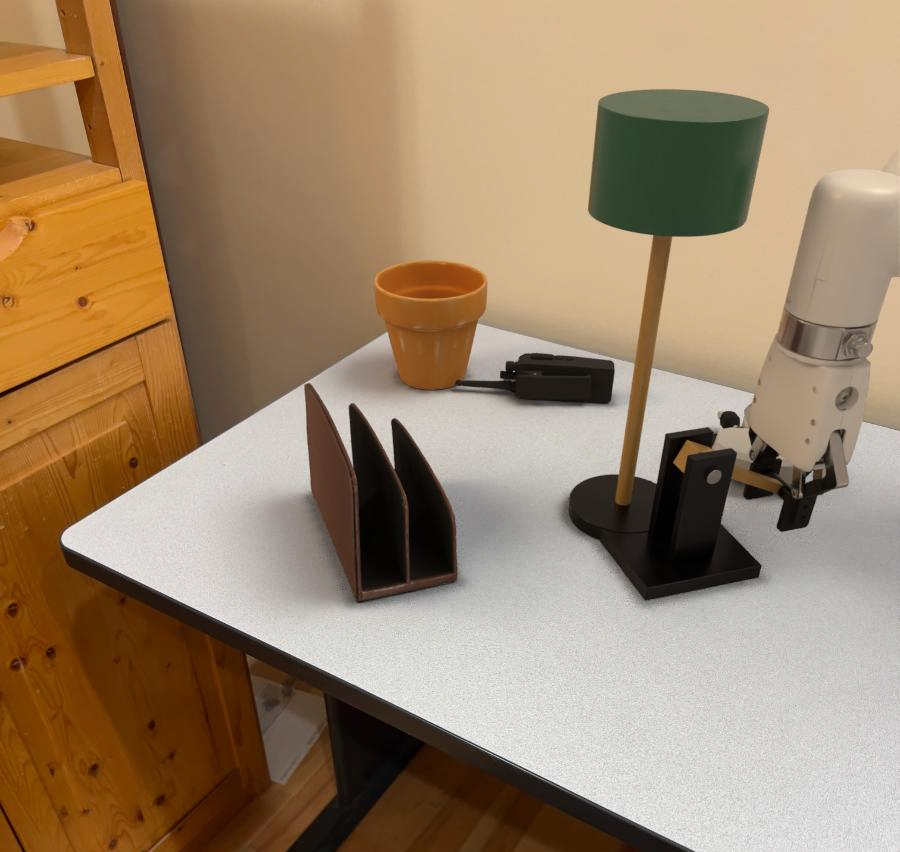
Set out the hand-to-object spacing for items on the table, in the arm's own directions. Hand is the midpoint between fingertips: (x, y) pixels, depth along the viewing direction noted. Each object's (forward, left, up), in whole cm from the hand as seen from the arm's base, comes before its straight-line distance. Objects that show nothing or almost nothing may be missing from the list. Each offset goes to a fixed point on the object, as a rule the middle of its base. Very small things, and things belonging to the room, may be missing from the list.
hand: (774, 510), depth 86 cm
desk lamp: (+14, -5, -4) cm, 15 cm away
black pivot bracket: (+10, +3, -4) cm, 11 cm away
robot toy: (-4, -15, -4) cm, 16 cm away
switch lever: (+6, +2, +4) cm, 7 cm away
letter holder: (+39, -2, -4) cm, 39 cm away
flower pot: (+33, -39, -4) cm, 51 cm away
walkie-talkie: (+20, -30, -1) cm, 36 cm away
